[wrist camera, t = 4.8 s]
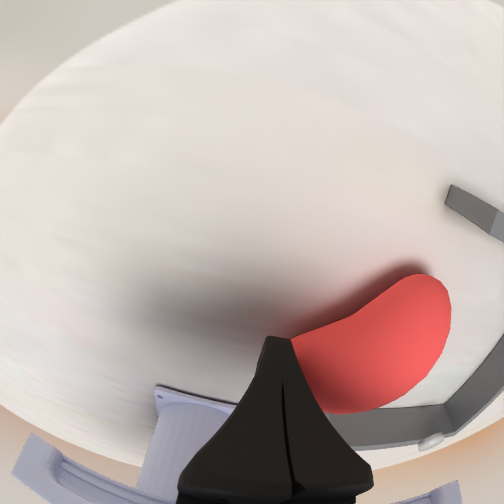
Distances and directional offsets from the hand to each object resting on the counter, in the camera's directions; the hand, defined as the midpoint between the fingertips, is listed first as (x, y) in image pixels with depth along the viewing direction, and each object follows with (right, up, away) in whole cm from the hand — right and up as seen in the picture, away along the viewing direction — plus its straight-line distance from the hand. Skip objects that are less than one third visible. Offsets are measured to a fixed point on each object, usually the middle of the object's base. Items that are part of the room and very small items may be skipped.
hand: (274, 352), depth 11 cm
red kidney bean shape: (+5, +1, +2) cm, 5 cm away
